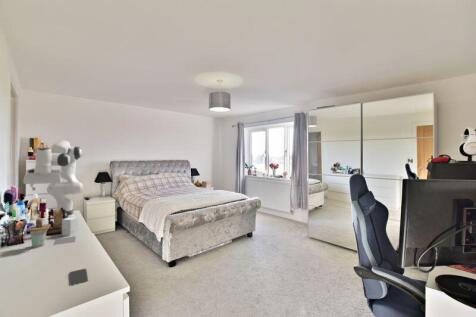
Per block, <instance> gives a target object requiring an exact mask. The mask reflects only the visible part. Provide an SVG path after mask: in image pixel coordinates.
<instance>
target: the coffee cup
mask: <svg viewBox="0 0 476 317" xmlns="http://www.w3.org/2000/svg"><path fill="white" fill-rule="evenodd" d="M46 231H47V230H39V231H31V232H29V233H30V239H31V246H32V248H33V249H36V248H40V247H44V246H45V241H46V238H47V237H46V235H47V234H46Z"/></svg>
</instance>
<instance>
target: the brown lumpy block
mask: <svg viewBox="0 0 476 317" xmlns="http://www.w3.org/2000/svg"><path fill="white" fill-rule="evenodd" d="M65 211H66V210H65V209H63V208H61V209H60V210H57V209H55V210H54V209H53V208H51V209H50V210H49V211H48V212H47V214H48V217H47V220H48V222H47V223H48V224H51V226H50V228H49V229H48V230H47V231H46V235H50V236H53V235H55V234H56V235H57V234H62V227H61V226H62V220H63V219H65V217H66V216H65Z"/></svg>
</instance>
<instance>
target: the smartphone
mask: <svg viewBox="0 0 476 317" xmlns="http://www.w3.org/2000/svg"><path fill="white" fill-rule="evenodd" d="M88 281H89V277H88V272H87V269H86V268H81V269H78V270H73V271H70V272H69V273H68V283H69V282H70V285H72V286H75V285H74V284H76V285H78V284H79V283H80V284H84V283H86V282H88ZM70 285H69V286H70Z"/></svg>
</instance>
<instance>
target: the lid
mask: <svg viewBox="0 0 476 317" xmlns="http://www.w3.org/2000/svg"><path fill="white" fill-rule="evenodd" d="M50 226H51V224H49V223H48V224H43V218H38V219H36V220H35V225H30V226H28V227H27V229H25V233H27V232H29V233H30V232H31V231H39V230H48V229H49V228H51V227H50Z"/></svg>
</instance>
